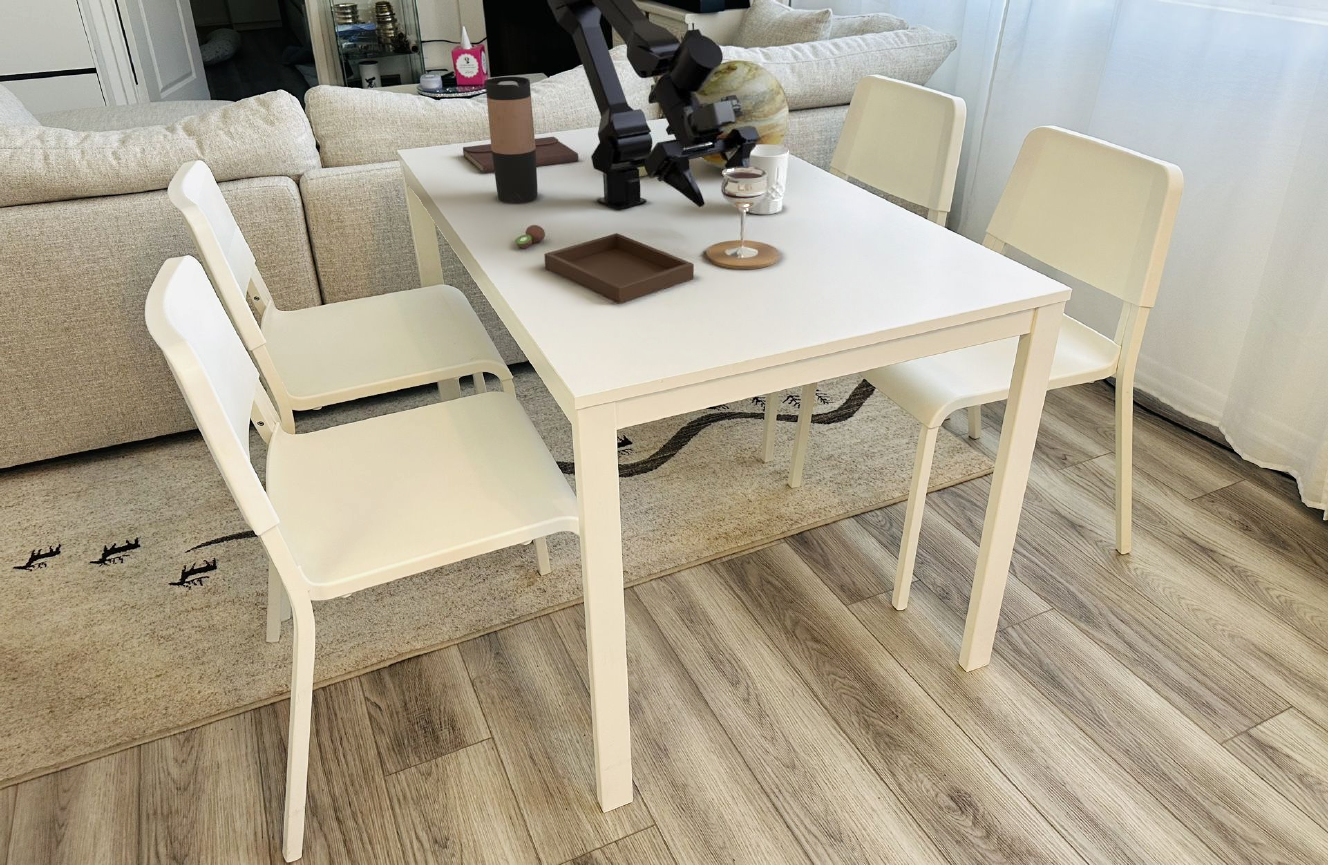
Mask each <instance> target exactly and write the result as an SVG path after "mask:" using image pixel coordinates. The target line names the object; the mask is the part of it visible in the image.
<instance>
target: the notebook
mask: <svg viewBox="0 0 1328 865" xmlns="http://www.w3.org/2000/svg"><path fill="white" fill-rule="evenodd" d="M535 149H536V168H537V167H544V166H553V165H560V164H567V163H575V162H579V154H578V152H577V151H575V150H573V149H572V148H570V147H569V146H567V145H565V144H564V143H562V142H561V141H560V140H559V139H558V138H557V137H555V136H547V137H537V138H535ZM462 153H463V157H464V158H465V159H467V160H468V161H469V162H470V163H471V164H472V165H473V166H474V167H475V168H477V170H479V171H480V172H481V173H482V174H489V173H495V172H494V165H493V157H492V149H491V143H486V144H478V145H469V146H463V147H462Z"/></svg>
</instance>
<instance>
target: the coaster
mask: <svg viewBox="0 0 1328 865" xmlns="http://www.w3.org/2000/svg"><path fill="white" fill-rule="evenodd" d="M736 246H741V239H734V240H727V241H721V242H718V243H714V244H712V245H710V246H709V247H707V250H706V251H705V257H706V259H707V260H708V261H709V262H710V263H712V264H714V265H716V266H718V267H722V268H726V269H733V270H756V269H763V268H766V267H770V266H772V265H774V264H776V263H777V262H778V260H779V258H780V252H779V250H778V249H777V248H776V247H774V246H773V245H771V244H768V243H766V242H765V243H764V242H761V241H756V240H747V239H746V240H745V239H744V242H743V246H746V247H751V248H754V249H756V250H757V251H758V254H757V255H755V256H753V257H748V258H737V257H732V256H729V255H727V254H726V253H725V251H726V250H727V249H728V248H731V247H736Z"/></svg>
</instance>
